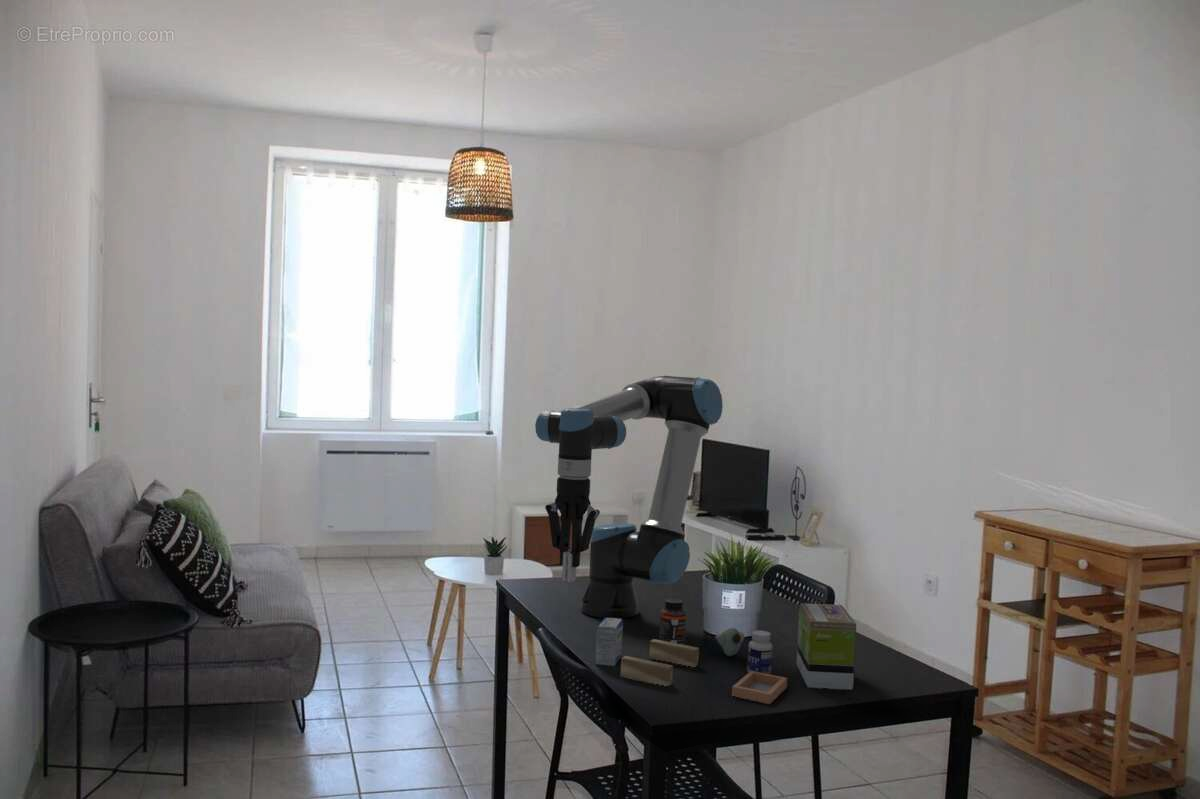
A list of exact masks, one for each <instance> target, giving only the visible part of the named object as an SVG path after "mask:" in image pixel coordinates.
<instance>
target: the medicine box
mask: <svg viewBox="0 0 1200 799" xmlns="http://www.w3.org/2000/svg"><path fill="white" fill-rule="evenodd" d="M623 628H624V620H623V618H621V619H616V618H603V620H602V621H601V622H600V624H599V625H597V628H596V629H597V630H596V650H595V651H596V652H595V665H599V666H605V667H606V666H608V667H615V666H617V663H618V662H619V660H620V659H621V658H622V657H621V656H622V650H623V649H622V648H623Z"/></svg>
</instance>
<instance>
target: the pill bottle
mask: <svg viewBox="0 0 1200 799" xmlns="http://www.w3.org/2000/svg"><path fill="white" fill-rule="evenodd" d="M771 638H772V637H771V632H769V631H767V630H754V631H752V634H751V639H752V640H750V641H749V643H748V649H747V650H748V651H747V664H746V671H747V673H749V672H750V671H754V672H760V673H765V674H770V675H772V667H773V666H772V665H773V664H772V663H773V651H774V649H773V647H774V646H773V644H772V643H771V642H770V641H771Z"/></svg>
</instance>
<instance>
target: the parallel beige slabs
mask: <svg viewBox="0 0 1200 799" xmlns="http://www.w3.org/2000/svg"><path fill="white" fill-rule="evenodd" d="M699 652H700V648H699V647H696V646H691V645H687V644H684V645H682V644H676V643H671V642H666V641H661V640H659V639H654V638H653V639H651V640H650V641H649V652H648V653H649V655H648V657H649V658H650V659H649V658H648V659H649V660H647V659H643V658H638V657H633V656H628V655H624V656H623V657H620V659H621V660H620V678H624V679H629V680H634V681H638V682H642V681H643V683H648V684H652V683H653V685H656V684H659V685H658V686H661V685H664V686H663V687H666V686H669V685H670V686H672V685H673V673H674V669H673V668H674V664H673V663H677V664H676V665H678V664H682V665H681V666H683V665H686V666H685V667H688V666H692V667H691V668H693V667H695V668H696V666H697V665H698V666H699V655H700V654H699ZM653 659H656V660H655V661H654V660H653ZM652 660H653V661H652ZM658 660H661V661H660V662H659V661H658ZM657 661H658V662H657ZM663 661H666V662H665V663H663ZM668 662H672V663H671V664H673V665H671V664H667V663H668ZM698 666H697V667H698ZM671 684H672V685H671ZM670 686H669V687H670Z"/></svg>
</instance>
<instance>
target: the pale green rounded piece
mask: <svg viewBox="0 0 1200 799" xmlns="http://www.w3.org/2000/svg"><path fill="white" fill-rule="evenodd" d="M745 638H746V637H745V633H743V632H741V631H739V629H737V628H733V627H732V628H728V629H726V630H724V631H723V632H722V633H720V634H717V635H716V636H714V639H716V641H717V642H718V643H719V645H720V646H721V647H722V650H723V652H724V654H725V655H726V656H727V657H733V656H734V655H736V654H737V652H738V651H739V649H740V647H741V644H742V642H743V641H744V639H745Z"/></svg>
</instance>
